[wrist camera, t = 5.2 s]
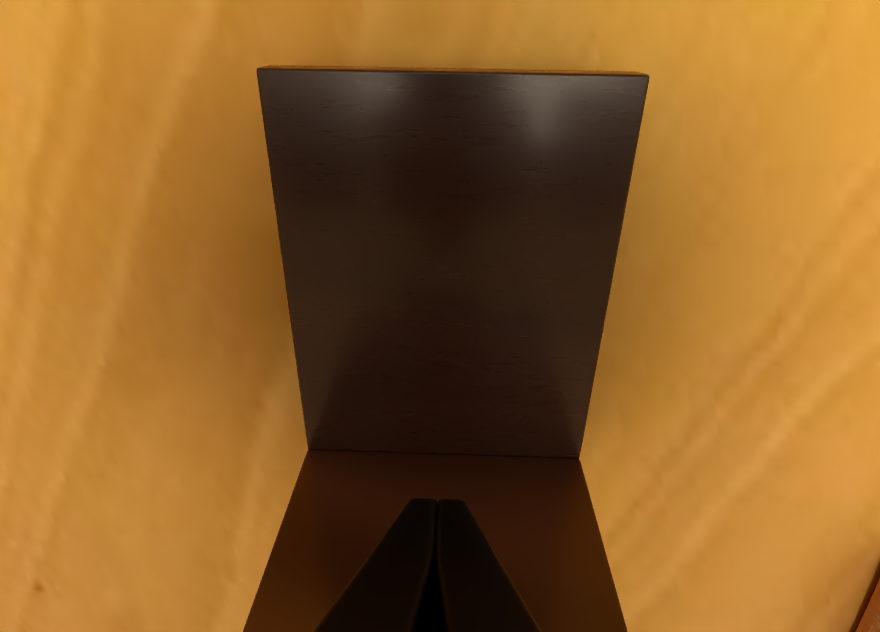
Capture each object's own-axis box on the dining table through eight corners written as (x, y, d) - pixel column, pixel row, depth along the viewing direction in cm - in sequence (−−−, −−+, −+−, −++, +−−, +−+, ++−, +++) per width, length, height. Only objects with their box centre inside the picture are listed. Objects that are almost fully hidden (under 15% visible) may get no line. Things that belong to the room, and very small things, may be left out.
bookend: (316, 440, 19) (268, 64, 13) (572, 448, 19) (637, 71, 13) (164, 875, 9) (-265, 173, 3) (693, 902, 9) (1165, 204, 3)
